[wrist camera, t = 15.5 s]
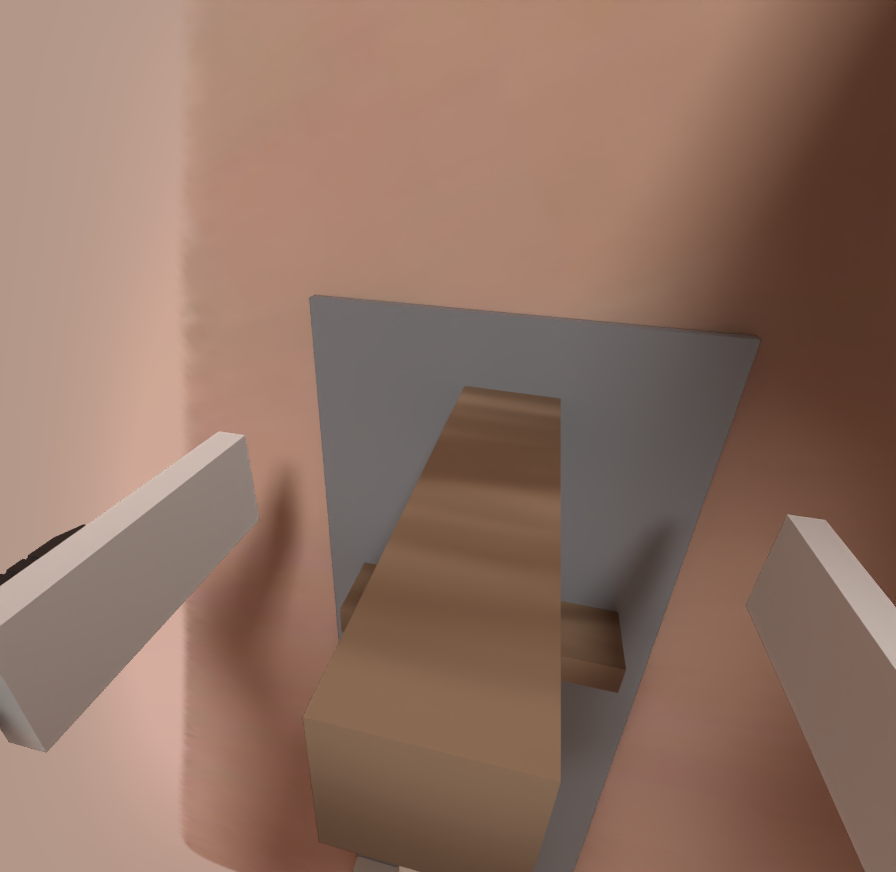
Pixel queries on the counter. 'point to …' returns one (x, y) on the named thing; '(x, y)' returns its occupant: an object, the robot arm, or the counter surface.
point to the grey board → (582, 471)
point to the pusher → (460, 657)
